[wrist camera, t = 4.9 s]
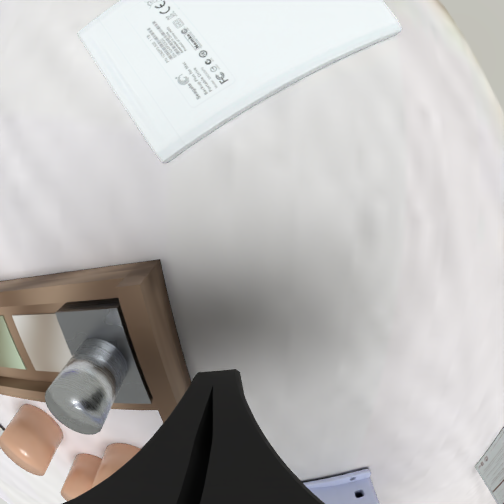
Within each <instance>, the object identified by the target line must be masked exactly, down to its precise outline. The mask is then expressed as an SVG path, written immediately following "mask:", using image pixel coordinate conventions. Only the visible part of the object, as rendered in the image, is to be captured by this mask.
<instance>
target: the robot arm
mask: <svg viewBox="0 0 504 504" xmlns="http://www.w3.org/2000/svg"><path fill="white" fill-rule="evenodd" d="M370 475H371V472H370V470H369V469H364V470H360V471H356V472H352V473H348V474H344V475H340V476H336V477H331V478H326V479H321V480H316V481H311V482H305V483H302V482H301V481H300V480H299V479H298V477H297V476H296V475H295V474H294V473H293V472H292V471H291V470H290V469H289V468H288V467H287V465H286V464H285V463H284V462H283V461H282V459H281V458H280V457H279V456H278V454H277V453H276V451H275V450H274V449H273V447H272V446H271V445H270V443H269V442H268V440H267V439H266V437H265V435H264V434H263V432H262V431H261V429H260V427H259V425H258V424H257V422H256V420H255V418H254V416H253V414H252V412H251V410H250V408H249V406H248V403H247V401H246V399H245V396H244V392H243V386H242V381H241V376H240V372H239V371H238V370H236V369H233V370H223V371H212V372H199V373H197V375H196V376H195V377H194V379H193V381H192V382H191V384H190V386H189V387H188V389H187V391H186V392H185V394H184V395H183V397H182V398H181V400H180V401H179V403H178V404H177V406H176V407H175V408H174V410H173V411H172V413H171V414H170V416H169V417H168V418H167V420H166V421H165V422H164V423H163V425H162V426H161V427H160V428H159V429H158V431H157V432H156V433H155V434H154V436H153V437H152V438H151V439H150V440H149V441H148V442H147V443H146V444H145V445H144V447H143V448H142V449H141V450H140V451H139V452H138V453H137V454H136V455H134V456H133V457H132V458H131V459H130V460H129V461H128V462H127V463H126V464H124V465H123V466H122V467H121V468H120V469H118V470H117V471H116V472H115V473H113V474H112V475H111V476H110V477H108V478H107V479H105V480H104V481H102V482H101V483H99V484H98V485H96V486H95V487H93V488H92V489H90V490H88V491H87V492H85V493H83V494H81V495H79V496H78V497H76V498H74V499H72V500H69V501H67V502H65V503H63V504H380V503H379V501H378V498H377V495H376V492H375V490H374V487H373V484H372V482H371V479H370Z"/></svg>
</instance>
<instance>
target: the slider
mask: <svg viewBox="0 0 504 504" xmlns="http://www.w3.org/2000/svg"><path fill="white" fill-rule="evenodd" d="M55 314H56V317H57V320H58V322H59V325H60V328H61V330H62V333H63V335H64V338H65V341H66V343H67V345H68V348H69V350H70V353H71V355H72V357H71V358H70V360H69V361H68V362H67V364H66V365H65V366H64V368H63V369H62V370H61V372H60V373H59V374H58V376H57V377H56V378H55V380H54V381H53V382H52V384H51V385H50V387H49V388H48V389H47V391H46V393H45V401H46V404H47V407H48V408H49V410H50V412H51V413H52V414H53V415H54V416H55V418H56V419H57V420H59V421H60V422H61V423H62V424H64V425H65V426H66V427H68V428H70V429H72V430H74V431H76V432H79V433H82V434H96V433H98V432H99V431H100V430H101V429H102V426H103V424H104V422H105V420H106V418H107V415H108V413H109V411H110V409H111V407H112V404H113V403H129V404H152V401H153V397H152V394H151V392H150V389H149V387H148V384H147V382H146V379H145V377H144V374H143V371H142V369H141V366H140V363H139V361H138V358H137V355H136V352H135V349H134V346H133V343H132V340H131V337H130V334H129V331H128V328H127V325H126V322H125V319H124V315H123V312H122V309H121V305H120V302H119V298H109V299H98V300H87V301H75V302H66V303H65V304H64V305H63V306H62V307H61V308H60V309H58V310H57V311H56V312H55Z"/></svg>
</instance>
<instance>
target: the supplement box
mask: <svg viewBox="0 0 504 504" xmlns="http://www.w3.org/2000/svg"><path fill="white" fill-rule="evenodd" d="M475 468H476V469H477V471H478V472H479V474H480V476H481V477H482V479H483V481H484V482H485V484H486V486H487V487H488V489H489V491H490V492H491V494H492V496H493V497H494V499H495V501H496V502H497V504H504V428H503V429H502V431H501V432H500V433H499V435H498V436H497V438H496V439H495V441H494V442H493V443H492V445H491V446H490V447H489V449H488V450H487V451H486V453H485V454H484V455H483V457H482V458H481V459H480V461H479V462H478V463H477V465H476V466H475Z"/></svg>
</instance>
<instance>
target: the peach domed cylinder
mask: <svg viewBox="0 0 504 504" xmlns="http://www.w3.org/2000/svg"><path fill="white" fill-rule="evenodd" d="M62 438H63V433H62V430H61V428H60V427H59V425H58V424H57V423H56V422H55V421H54V420H53V419H52V418H51V417H50V416H49V415H48V414H47V413H45V412H44V411H42V410H41V409H39V408H37V407H35V406H33V405H29V404H25V405H22V406H21V408H20V409H19V411H18V412H17V413H16V415H15V416H14V418H13V419H12V420H11V422H10V423H9V425H8V426H7V428H6V429H5V431H4V432H3V433H2V435H1V436H0V447H1V449H2V450H3V451H4V453H5V454H6V455H7V456H8V457H9V458H10V459H11V460H12V461H13V462H15V463H16V464H17V465H18V466H20V467H21V468H23V469H24V470H26V471H28V472H30V473H32V474H35V475H39V476H43V475H44V474H45V472H46V470H47V468H48V466H49V464H50V462H51V460H52V458H53V456H54V454H55V452H56V450H57V448H58V446H59V444H60V442H61V440H62Z"/></svg>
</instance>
